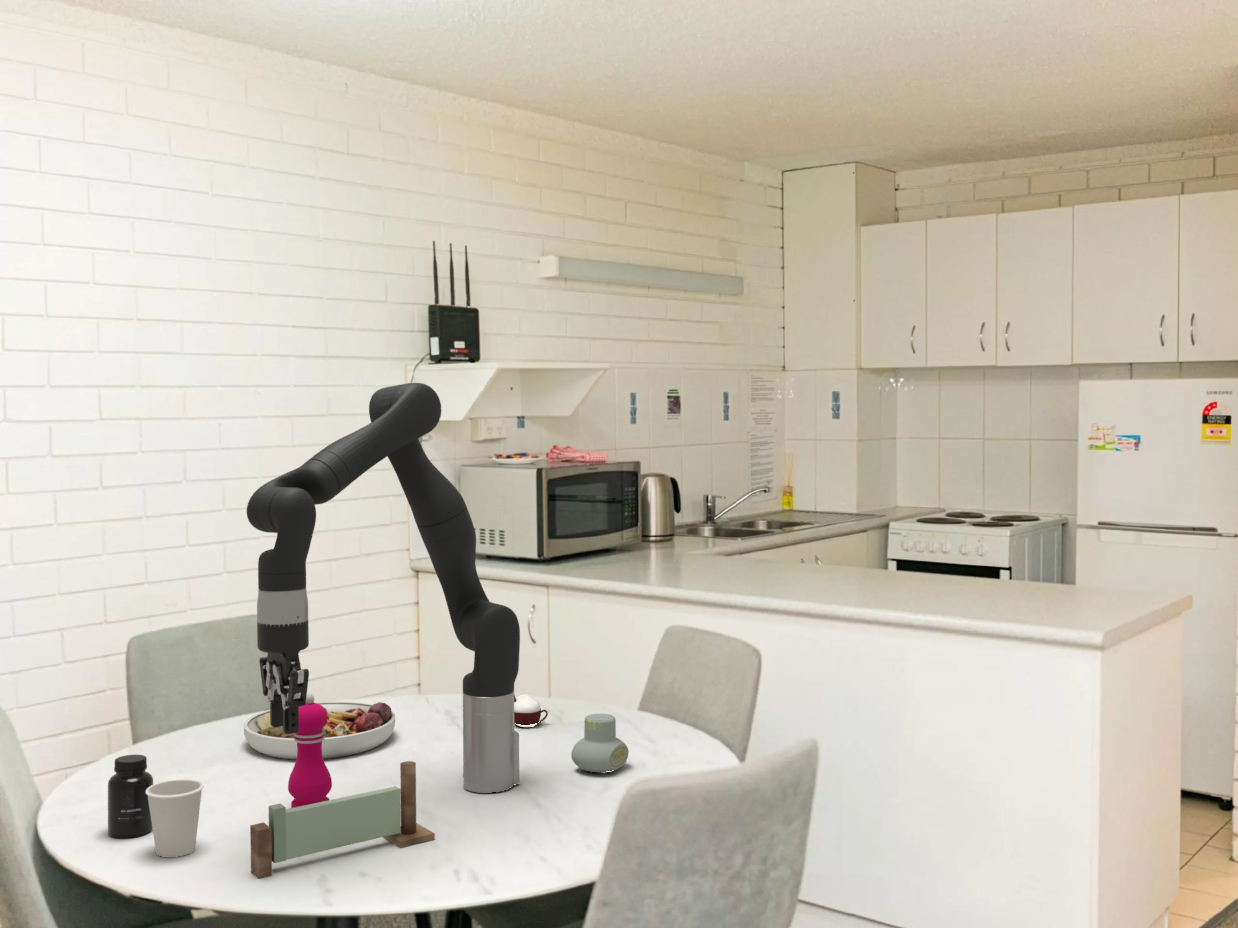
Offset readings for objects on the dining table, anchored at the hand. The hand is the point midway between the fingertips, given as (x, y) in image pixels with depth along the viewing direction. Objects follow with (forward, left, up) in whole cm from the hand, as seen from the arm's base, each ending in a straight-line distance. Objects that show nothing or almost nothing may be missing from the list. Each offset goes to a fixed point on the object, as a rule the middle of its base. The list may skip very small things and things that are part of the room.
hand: (284, 728), depth 184 cm
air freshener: (-64, -6, -20) cm, 67 cm away
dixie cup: (+13, -12, -20) cm, 26 cm away
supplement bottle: (+16, -25, -20) cm, 35 cm away
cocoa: (-70, -41, -20) cm, 83 cm away
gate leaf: (-6, +5, -18) cm, 20 cm away
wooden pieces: (-7, +6, -19) cm, 21 cm away
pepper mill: (-11, -17, -20) cm, 28 cm away
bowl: (-30, -56, -20) cm, 66 cm away
